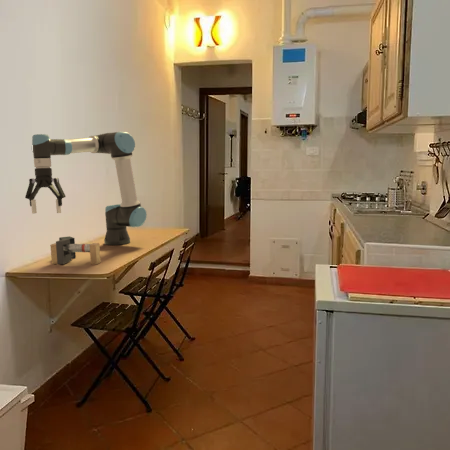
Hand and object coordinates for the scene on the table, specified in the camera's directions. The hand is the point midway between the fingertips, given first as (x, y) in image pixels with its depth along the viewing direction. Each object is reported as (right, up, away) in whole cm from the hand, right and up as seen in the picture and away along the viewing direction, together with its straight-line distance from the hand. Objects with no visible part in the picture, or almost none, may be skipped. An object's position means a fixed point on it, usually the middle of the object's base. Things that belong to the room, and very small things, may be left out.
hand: (46, 213), depth 225 cm
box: (+5, -23, +16) cm, 28 cm away
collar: (+8, -17, +1) cm, 19 cm away
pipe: (+14, -24, +1) cm, 28 cm away
